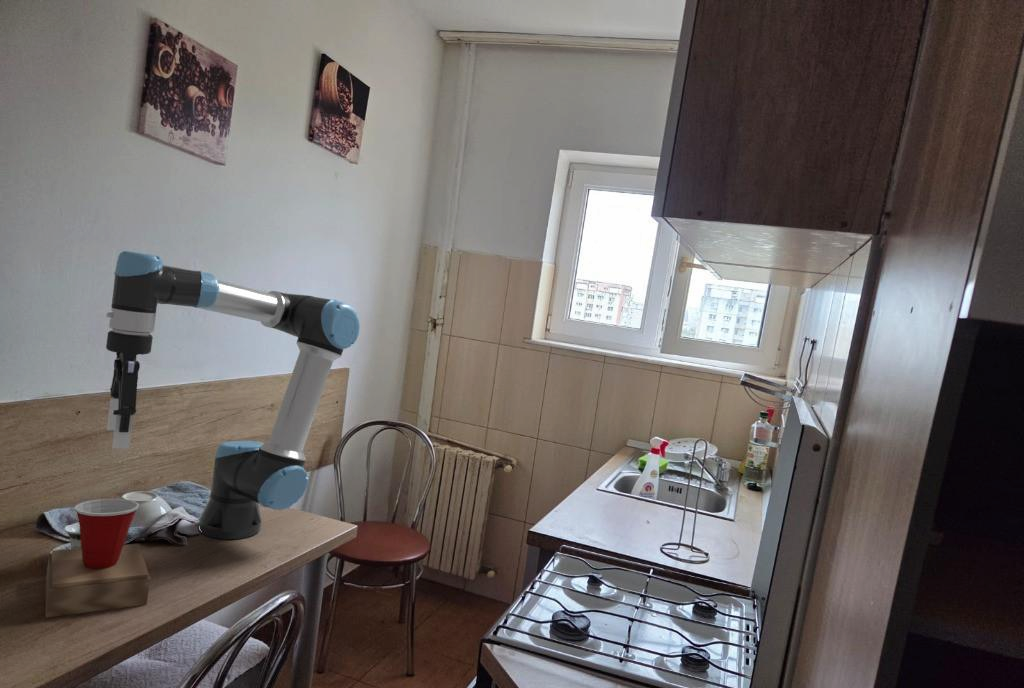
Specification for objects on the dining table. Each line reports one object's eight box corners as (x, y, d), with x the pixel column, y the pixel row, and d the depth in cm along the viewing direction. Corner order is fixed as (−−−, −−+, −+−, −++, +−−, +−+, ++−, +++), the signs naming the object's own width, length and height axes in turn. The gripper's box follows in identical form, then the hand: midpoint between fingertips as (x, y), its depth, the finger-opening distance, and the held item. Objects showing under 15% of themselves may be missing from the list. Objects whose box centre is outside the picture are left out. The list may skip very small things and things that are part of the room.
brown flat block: (137, 569, 136) (141, 542, 136) (146, 604, 124) (150, 574, 123) (45, 578, 127) (49, 550, 126) (45, 617, 114) (49, 585, 114)
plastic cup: (124, 548, 132) (131, 492, 132) (138, 568, 125) (146, 510, 124) (61, 556, 125) (69, 497, 124) (72, 579, 117) (81, 516, 116)
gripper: (103, 322, 130) (91, 422, 131) (113, 338, 110) (98, 457, 111) (145, 326, 135) (132, 423, 136) (162, 342, 115) (147, 456, 116)
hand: (117, 438), depth 124 cm, fingers open, 13 cm apart
